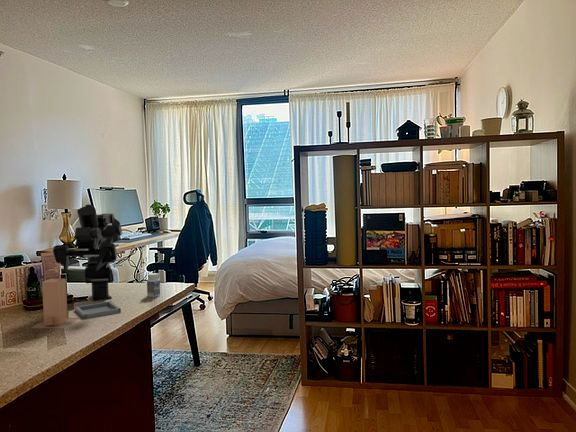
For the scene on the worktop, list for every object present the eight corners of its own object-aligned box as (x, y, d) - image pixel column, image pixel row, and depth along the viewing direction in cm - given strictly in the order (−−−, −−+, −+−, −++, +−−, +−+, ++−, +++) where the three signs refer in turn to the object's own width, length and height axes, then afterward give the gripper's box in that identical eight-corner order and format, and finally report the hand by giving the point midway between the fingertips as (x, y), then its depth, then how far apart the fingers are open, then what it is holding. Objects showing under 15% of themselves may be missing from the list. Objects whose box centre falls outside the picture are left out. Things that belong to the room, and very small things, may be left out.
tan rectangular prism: (52, 320, 131) (50, 278, 130) (67, 320, 131) (65, 278, 130) (40, 327, 125) (38, 283, 124) (56, 326, 125) (54, 283, 124)
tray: (75, 312, 142) (75, 306, 142) (110, 306, 149) (110, 301, 149) (84, 321, 133) (83, 314, 132) (120, 314, 139) (120, 308, 139)
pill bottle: (156, 297, 161) (155, 275, 161) (144, 297, 162) (144, 274, 162) (162, 294, 166) (161, 272, 165) (151, 294, 167) (150, 272, 166)
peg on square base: (48, 320, 134) (47, 306, 133) (80, 320, 134) (80, 305, 134) (29, 331, 124) (28, 315, 123) (64, 330, 124) (64, 315, 124)
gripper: (55, 221, 142) (42, 252, 129) (115, 219, 145) (108, 249, 133) (62, 247, 148) (50, 278, 136) (119, 245, 152) (113, 276, 139)
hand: (80, 270), depth 136 cm, fingers open, 9 cm apart
